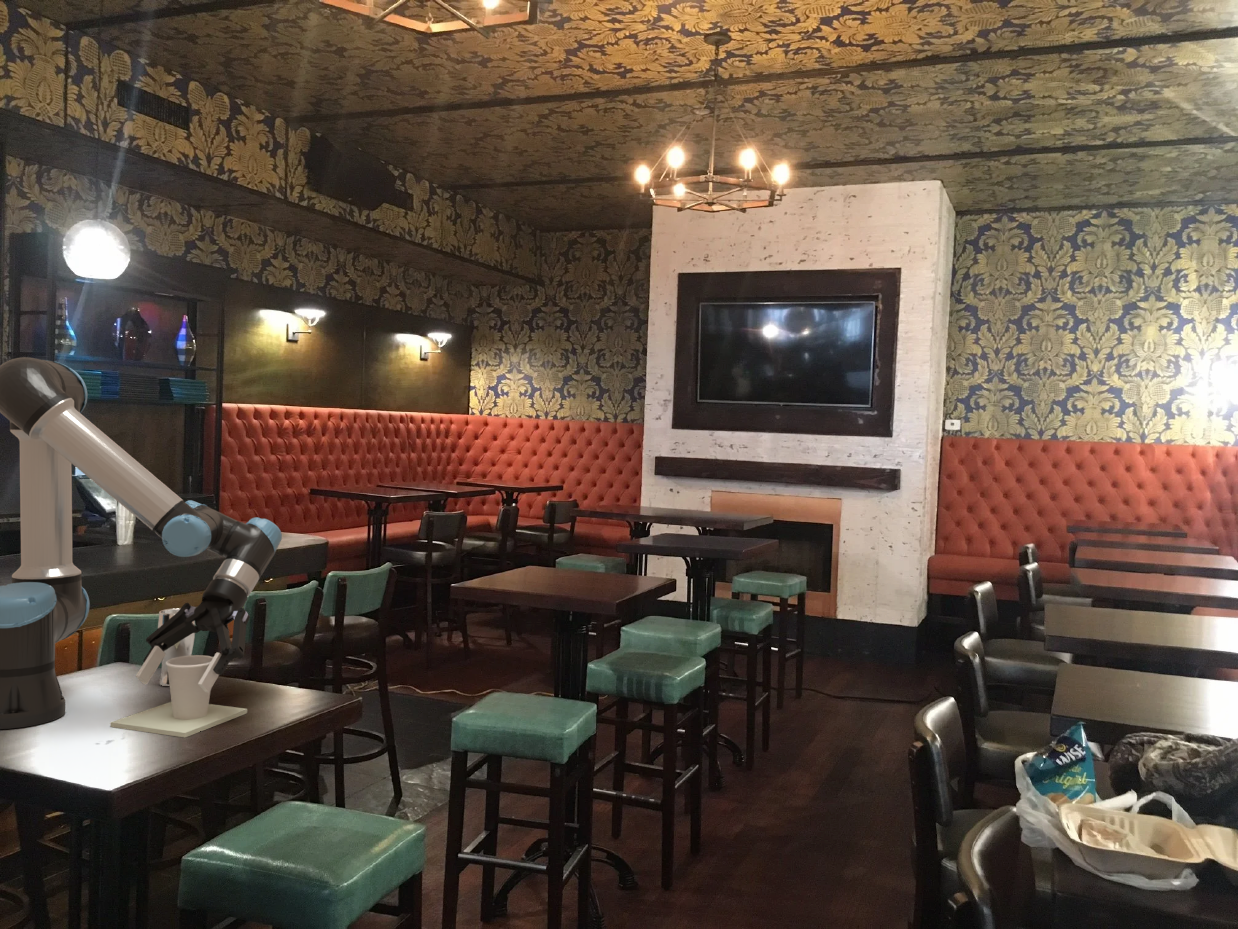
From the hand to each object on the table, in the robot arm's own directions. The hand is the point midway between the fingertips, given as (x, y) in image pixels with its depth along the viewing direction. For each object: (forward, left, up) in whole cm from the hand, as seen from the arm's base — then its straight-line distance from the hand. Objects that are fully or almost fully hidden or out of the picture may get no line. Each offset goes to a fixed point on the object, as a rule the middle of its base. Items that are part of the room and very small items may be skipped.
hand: (171, 684), depth 176 cm
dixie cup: (+1, +3, -6) cm, 7 cm away
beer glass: (-19, +22, -7) cm, 30 cm away
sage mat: (0, +2, -7) cm, 7 cm away
